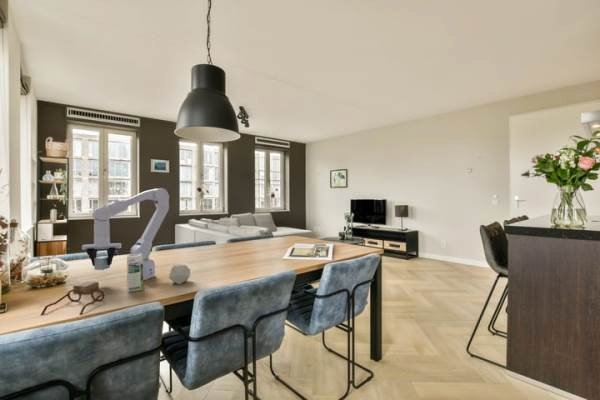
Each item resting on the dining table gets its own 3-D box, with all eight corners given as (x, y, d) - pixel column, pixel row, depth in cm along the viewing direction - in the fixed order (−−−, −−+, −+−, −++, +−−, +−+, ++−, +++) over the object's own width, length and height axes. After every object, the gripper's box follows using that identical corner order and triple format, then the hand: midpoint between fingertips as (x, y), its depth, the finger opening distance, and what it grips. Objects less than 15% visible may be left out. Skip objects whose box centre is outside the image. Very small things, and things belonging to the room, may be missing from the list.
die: (194, 284, 131) (194, 263, 137) (180, 278, 124) (181, 257, 130) (178, 289, 133) (179, 269, 139) (164, 284, 126) (165, 263, 132)
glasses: (105, 301, 108) (105, 288, 108) (80, 316, 95) (80, 301, 95) (69, 302, 108) (69, 288, 108) (39, 316, 95) (39, 301, 95)
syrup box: (127, 292, 118) (127, 256, 117) (127, 288, 123) (126, 254, 122) (143, 290, 121) (143, 255, 120) (142, 286, 126) (142, 252, 125)
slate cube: (109, 267, 130) (109, 256, 130) (102, 270, 126) (102, 258, 126) (101, 267, 130) (101, 256, 130) (94, 269, 126) (94, 258, 126)
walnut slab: (98, 289, 122) (98, 282, 122) (85, 294, 117) (85, 286, 117) (87, 288, 124) (87, 281, 124) (73, 292, 118) (73, 285, 118)
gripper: (123, 232, 134) (123, 262, 134) (86, 233, 130) (87, 264, 130) (118, 234, 127) (118, 265, 127) (79, 235, 123) (79, 267, 123)
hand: (102, 265), depth 128 cm, fingers closed on slate cube, 5 cm apart
